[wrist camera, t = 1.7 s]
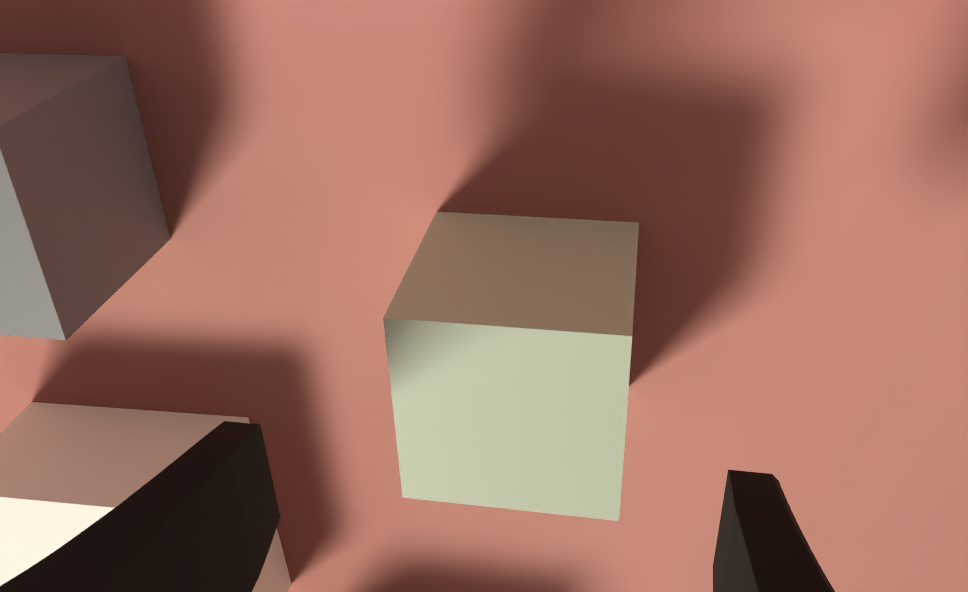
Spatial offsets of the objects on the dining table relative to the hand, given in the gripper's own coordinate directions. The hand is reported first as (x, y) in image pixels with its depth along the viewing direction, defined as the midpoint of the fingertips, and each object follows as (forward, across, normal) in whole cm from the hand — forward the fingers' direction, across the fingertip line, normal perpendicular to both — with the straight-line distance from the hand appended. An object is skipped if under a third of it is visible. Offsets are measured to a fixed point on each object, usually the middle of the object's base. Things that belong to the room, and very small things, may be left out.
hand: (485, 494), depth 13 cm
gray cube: (+6, +10, -3) cm, 12 cm away
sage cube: (+6, 0, 0) cm, 6 cm away
